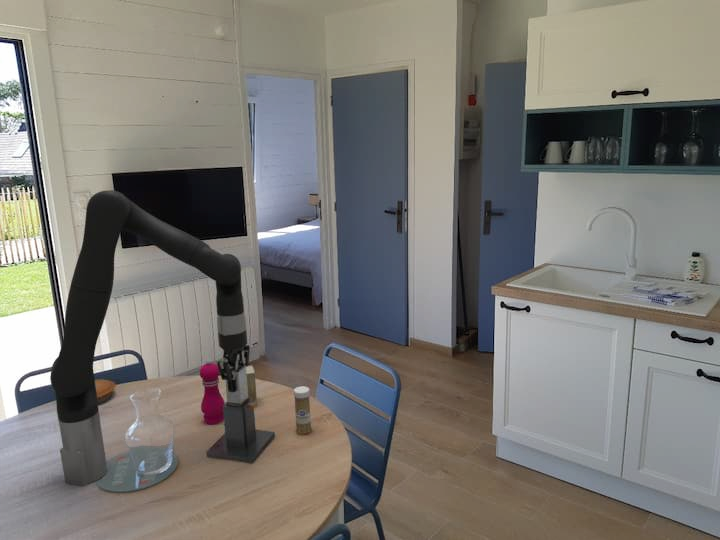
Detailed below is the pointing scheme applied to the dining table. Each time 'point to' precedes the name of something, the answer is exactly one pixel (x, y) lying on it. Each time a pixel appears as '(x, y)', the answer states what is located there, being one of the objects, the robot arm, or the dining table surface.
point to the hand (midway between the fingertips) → (236, 387)
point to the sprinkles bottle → (302, 410)
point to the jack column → (238, 388)
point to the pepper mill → (211, 394)
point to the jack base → (240, 435)
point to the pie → (104, 389)
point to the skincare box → (251, 384)
